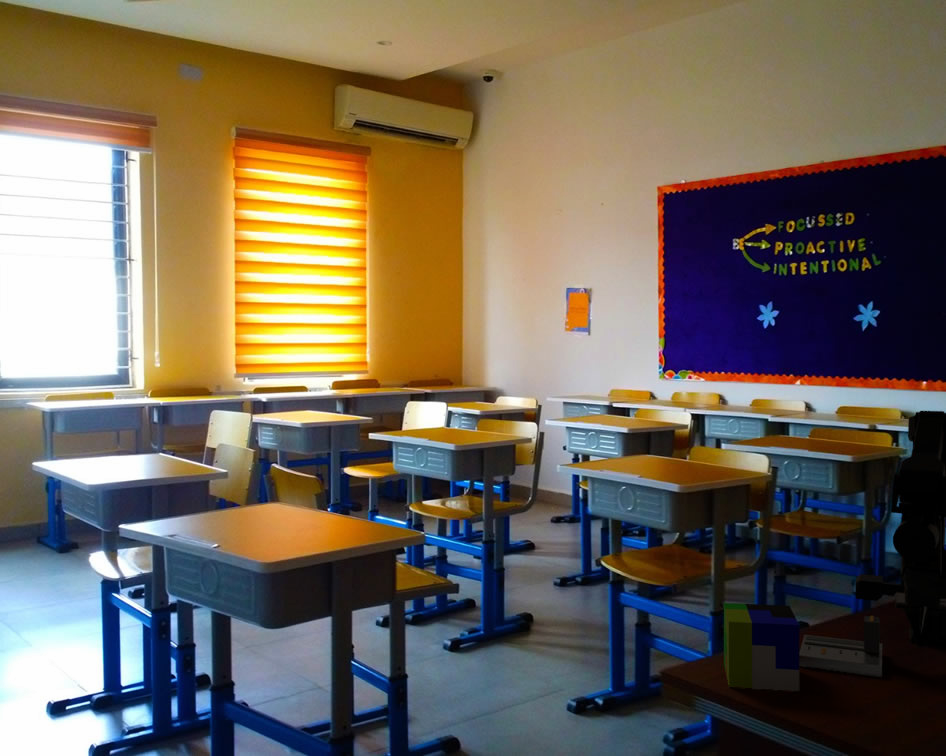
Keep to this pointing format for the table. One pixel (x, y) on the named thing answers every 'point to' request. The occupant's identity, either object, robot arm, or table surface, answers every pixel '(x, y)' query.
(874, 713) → the table surface
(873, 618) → the fader knob
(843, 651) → the console plate
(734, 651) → the puzzle toy
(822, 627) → the table surface
